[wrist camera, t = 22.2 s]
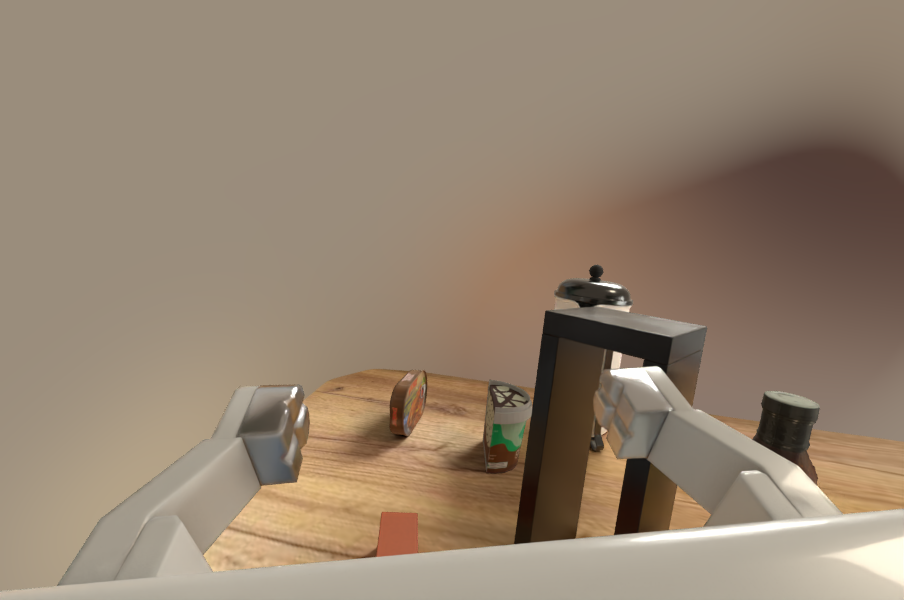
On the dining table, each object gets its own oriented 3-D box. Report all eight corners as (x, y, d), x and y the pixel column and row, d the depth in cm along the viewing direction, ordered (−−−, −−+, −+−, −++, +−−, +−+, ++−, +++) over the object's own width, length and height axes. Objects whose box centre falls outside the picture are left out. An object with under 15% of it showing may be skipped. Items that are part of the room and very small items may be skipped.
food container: (532, 484, 54) (542, 414, 52) (487, 479, 54) (495, 409, 52) (519, 440, 66) (526, 382, 65) (482, 436, 66) (489, 378, 65)
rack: (613, 666, 30) (672, 337, 27) (508, 581, 37) (545, 310, 34) (656, 594, 38) (707, 326, 34) (561, 534, 44) (596, 306, 41)
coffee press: (641, 451, 66) (672, 272, 62) (555, 454, 62) (582, 263, 58) (583, 408, 83) (605, 265, 79) (512, 408, 79) (532, 257, 75)
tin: (403, 445, 60) (407, 392, 59) (383, 442, 61) (387, 389, 60) (427, 408, 75) (431, 365, 74) (411, 405, 75) (414, 362, 74)
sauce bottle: (723, 551, 44) (759, 380, 42) (795, 590, 40) (840, 402, 37) (703, 578, 40) (742, 391, 37) (781, 626, 35) (832, 416, 33)
